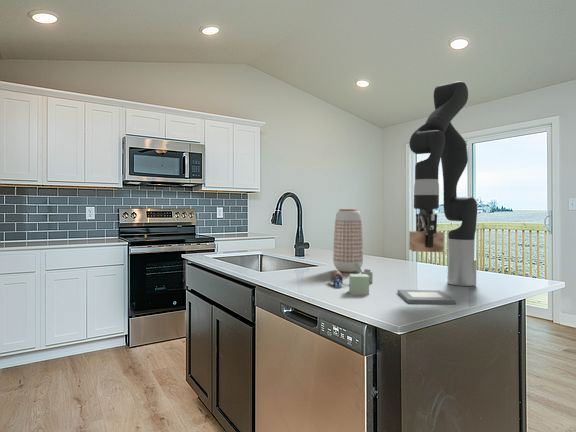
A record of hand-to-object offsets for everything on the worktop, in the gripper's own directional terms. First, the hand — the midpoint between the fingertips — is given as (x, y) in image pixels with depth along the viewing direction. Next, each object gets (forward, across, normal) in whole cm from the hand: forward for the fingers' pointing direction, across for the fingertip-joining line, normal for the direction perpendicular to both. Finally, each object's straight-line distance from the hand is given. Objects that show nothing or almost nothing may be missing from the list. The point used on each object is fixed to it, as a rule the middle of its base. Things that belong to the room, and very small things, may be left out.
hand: (425, 246), depth 123 cm
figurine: (+17, +20, +26) cm, 37 cm away
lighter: (+17, +25, +16) cm, 34 cm away
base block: (+1, 0, 0) cm, 1 cm away
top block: (+17, +7, +20) cm, 27 cm away
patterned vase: (+17, +51, +19) cm, 57 cm away
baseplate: (+17, 0, 0) cm, 17 cm away
